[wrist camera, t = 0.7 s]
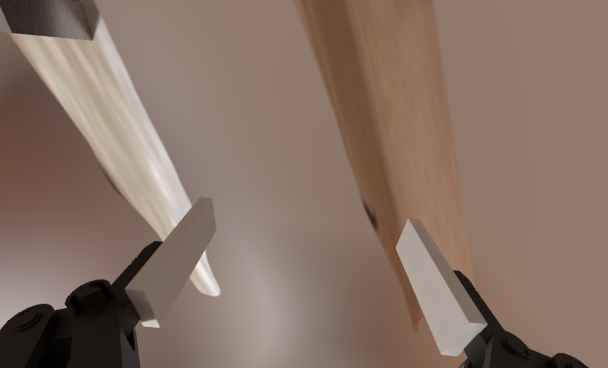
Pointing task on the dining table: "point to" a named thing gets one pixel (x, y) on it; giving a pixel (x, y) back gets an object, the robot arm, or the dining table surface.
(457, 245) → the dining table surface
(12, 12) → the socket
